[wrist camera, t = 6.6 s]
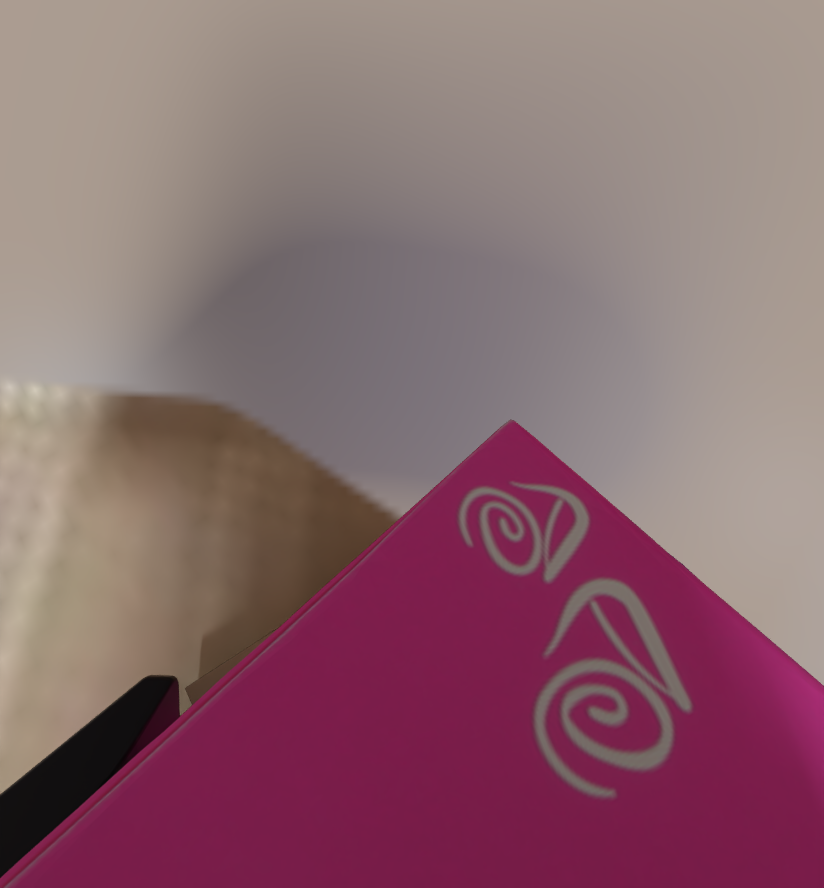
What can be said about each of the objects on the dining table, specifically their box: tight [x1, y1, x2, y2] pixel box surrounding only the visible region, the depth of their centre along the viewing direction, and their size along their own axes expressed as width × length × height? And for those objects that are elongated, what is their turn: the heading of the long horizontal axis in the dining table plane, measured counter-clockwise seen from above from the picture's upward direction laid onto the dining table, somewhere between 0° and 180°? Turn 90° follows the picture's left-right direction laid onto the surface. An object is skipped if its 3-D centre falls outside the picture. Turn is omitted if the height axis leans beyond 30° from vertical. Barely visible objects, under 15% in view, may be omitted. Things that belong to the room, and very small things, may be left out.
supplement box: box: [0, 420, 824, 888], centre depth 8 cm, size 6×6×12 cm
